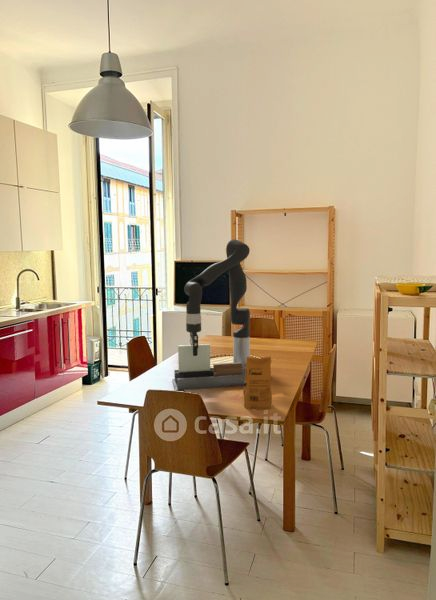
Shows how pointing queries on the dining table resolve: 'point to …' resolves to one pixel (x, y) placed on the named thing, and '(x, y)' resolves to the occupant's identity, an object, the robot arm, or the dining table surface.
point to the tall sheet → (194, 358)
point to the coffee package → (257, 383)
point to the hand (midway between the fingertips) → (194, 353)
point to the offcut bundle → (227, 369)
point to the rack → (205, 380)
